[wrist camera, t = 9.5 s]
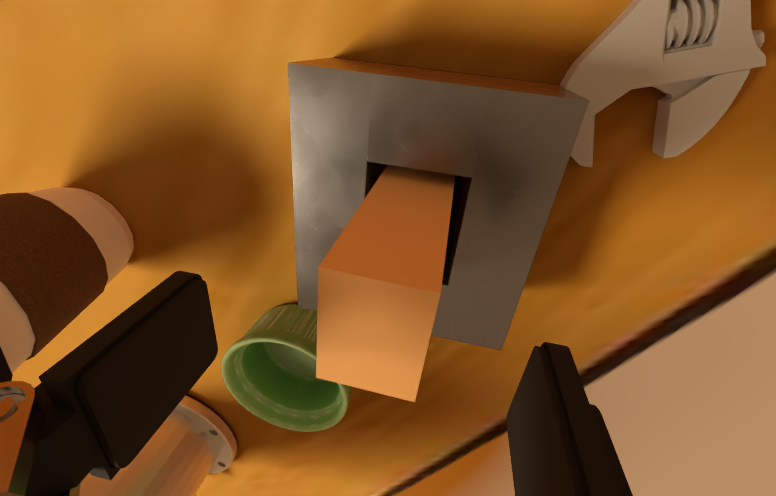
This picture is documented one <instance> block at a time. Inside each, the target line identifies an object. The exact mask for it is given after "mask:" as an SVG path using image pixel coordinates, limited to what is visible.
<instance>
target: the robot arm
mask: <svg viewBox="0 0 776 496" xmlns="http://www.w3.org/2000/svg"><path fill="white" fill-rule="evenodd" d="M217 352H218V346H217V340H216V335H215V329H214V323H213V318H212V312H211V306H210V301H209V295H208V289H207V284H206V282H205V281H203V280H202V277H201V276H200V275H198V274H194V273H189V272H184V271H177V272H175V273H173V274H172V275H171V276H170V277H168V278H167V279H166V280H164V281H163V282H162V283H160V284H159V285H158V286H156V287H155V288H154V289H153V290H151V291H150V292H149V293H147V294H146V295H145V296H143V297H142V298H141V299H140V300H138V301H137V302H136V303H134V304H133V305H132V306H130V307H129V308H128V309H126V310H125V311H124V312H123V313H121V314H120V315H119V316H117V317H116V318H115V319H113V320H112V321H111V322H109V323H108V324H107V325H106V326H104V327H103V328H102V329H100V330H99V331H98V332H96V333H95V334H94V335H92V336H91V337H90V338H89V339H87V340H86V341H85V342H83V343H82V344H81V345H79V346H78V347H77V348H76V349H74V350H73V351H72V352H70V353H69V354H68V355H66V356H65V357H64V358H62V359H61V360H60V361H59V362H57V363H56V364H55V365H53V366H52V367H51V368H49V369H48V370H47V371H45V372H44V373H43V374H42V375H40V376H39V379H40V381H41V382H42V383H40V384H39V385H38V386H37V387H35V388H33V387H32V385H31V384H29V383H26V382H24V381H8V382H2V383H0V496H196V492H197V490H198V489H199V487H200V485H201V484H202V482H203V480H204V479H205V477H206V475H207V474H214V473H218V472H222V471H224V470H226V469H227V468H228V467H229V466H230V465H231V463H232V462H233V460H234V458H235V456H236V454H237V444H236V440H235V437H234V435H233V433H232V431H231V430H230V429H229V427H228V426H227V424H226V423H225V422H224V421H223V420H222V419H221V418H220V417H219V416H218V415H216V414H215V413H214V412H213V411H212V410H210V409H209V408H208V407H206V406H205V405H203V404H202V403H200V402H198V401H196V400H194V399H193V398H191V397H189V396H186V394H187V393H188V392H189V390H190V389H191V388H192V387H193V386H194V384H195V383H196V382H197V381H198V379H199V378H200V377H201V376H202V374H203V373H204V372H205V371H206V369H207V368H208V367H209V366H210V364H211V363H212V362H213V361H214V359H215V357H216V355H217ZM507 430H508V438H509V446H510V455H511V464H512V472H513V479H514V489H515V496H633V495H632V493H631V490H630V487H629V485H628V483H627V480H626V477H625V474H624V472H623V469H622V466H621V464H620V461H619V459H618V456H617V454H616V451H615V448H614V446H613V443H612V440H611V438H610V435H609V433H608V430H607V428H606V425H605V423H604V420H603V417H602V415H601V413H600V411H599V409H598V408H597V407H596V406H595V405H591V404H589V402H588V399H587V396H586V393H585V391H584V388H583V385H582V382H581V379H580V377H579V374H578V371H577V368H576V365H575V363H574V360H573V357H572V354H571V351H570V349H569V348H568V347H567V346H563V345H558V344H553V343H547V342H544V343H543V344H542V345H541V347H539V346H535V347H534V349H533V351H532V353H531V356H530V358H529V361H528V363H527V366H526V368H525V371H524V373H523V376H522V378H521V381H520V383H519V386H518V388H517V391H516V393H515V396H514V398H513V401H512V403H511V406H510V408H509V411H508V415H507Z"/></svg>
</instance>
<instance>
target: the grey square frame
mask: <svg viewBox="0 0 776 496" xmlns="http://www.w3.org/2000/svg"><path fill="white" fill-rule="evenodd" d="M288 77H289V101H290V125H291V149H292V173H293V197H294V221H295V245H296V269H297V293H298V307H299V308H304V309H309V310H314V311H317V304H318V267H319V265H320V264H321V262H322V261H323V259H324V258H325V256H326V255H327V253H328V252H329V251H330V249H331V248H332V246H333V245H334V243H335V242H336V240H337V239H338V237H339V236H340V234H341V233H342V231H343V230H344V228H345V227H346V226H347V224H348V223H349V221H350V220H351V218H352V217H353V215H354V214H355V212H356V211H357V209H358V208H359V206H360V205H361V203H362V202H363V201H364V199H365V198H366V196H367V195H368V193H369V192H370V190H371V189H372V187H373V186H374V184H375V183H376V181H377V180H378V178H379V177H380V176H381V174H382V173H383V171H384V170H385V168H386V167H387V165H393V166H400V167H406V168H413V169H419V170H425V171H432V172H438V173H445V174H451V175H457V176H464V177H465V182H464V187H463V192H462V196H461V201H460V206H459V210H458V215H457V220H456V225H455V229H454V234H453V236H450V235H448V239H447V247H446V255H445V263H444V271H443V279H442V287H441V294H440V299H439V303H438V307H437V311H436V315H435V320H434V324H433V328H432V332H431V336H436V337H441V338H445V339H450V340H455V341H459V342H464V343H469V344H474V345H478V346H483V347H488V348H492V349H497V350H502V347H503V344H504V341H505V338H506V335H507V333H508V330H509V327H510V324H511V321H512V319H513V316H514V313H515V310H516V307H517V304H518V302H519V299H520V296H521V293H522V290H523V288H524V285H525V282H526V279H527V276H528V273H529V271H530V268H531V265H532V262H533V259H534V257H535V254H536V251H537V248H538V245H539V242H540V240H541V237H542V234H543V231H544V228H545V226H546V223H547V220H548V217H549V214H550V211H551V209H552V206H553V203H554V200H555V197H556V195H557V192H558V189H559V186H560V183H561V180H562V178H563V175H564V172H565V169H566V166H567V164H568V161H569V158H570V155H571V152H572V149H573V147H574V144H575V141H576V138H577V135H578V133H579V130H580V127H581V124H582V121H583V118H584V116H585V113H586V110H587V107H588V104H589V100H588V99H586V98H584V97H582V96H580V95H578V94H576V93H574V92H572V91H570V90H568V89H566V88H564V87H562V86H560V85H555V84H547V83H539V82H530V81H522V80H514V79H506V78H497V77H489V76H481V75H473V74H464V73H456V72H448V71H440V70H431V69H423V68H415V67H407V66H398V65H390V64H382V63H373V62H365V61H357V60H349V59H340V58H325V59H316V60H308V61H300V62H291V63H288Z"/></svg>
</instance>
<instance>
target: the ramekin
mask: <svg viewBox="0 0 776 496" xmlns="http://www.w3.org/2000/svg"><path fill="white" fill-rule="evenodd" d="M316 358H317V311H314V310H309V309H304V308H299V307H298V305H297V304H289V305H282V306H277V307H275V308H273V309H271V310H269V311H268V312H266V313H265V314H264V315H263V316H262V317H261V318H260V319H259V320H258V321H257V322H256V323H255V324H254V325H253V327H252V328H251V329H250V330H249V331H248V332H247V333H246V334H245V335H244V336H243V338H241V339H239V340H238V341H236V342H235V343H234V344H233V345H232V346H231V347H230V348H229V349H228V350H227V351H226V353H225V355H224V357H223V359H222V363H221V372H222V377H223V380H224V382H225V385H226V387H227V388H228V390H229V392H230V393H231V394H232V396H233V397H234V398H235V399H236V400H237V401H238V402H239V403H240V404H241V405H242V406H243V407H244V408H245V409H247V410H248V411H249V412H251V413H252V414H254V415H255V416H257V417H259V418H260V419H262V420H264V421H266V422H268V423H270V424H273V425H275V426H278V427H281V428H285V429H288V430H293V431H301V432H315V431H321V430H325V429H328V428H330V427H332V426H334V425H336V424H337V423H338V422H339V421H340V420H341V419H342V418H343V417H344V415H345V413H346V411H347V408H348V403H349V389H350V386H348V385H344V384H340V383H336V382H332V381H328V380H324V379H320V378H316Z"/></svg>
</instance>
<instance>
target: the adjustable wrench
mask: <svg viewBox="0 0 776 496" xmlns="http://www.w3.org/2000/svg"><path fill="white" fill-rule="evenodd" d="M763 43H764V32H763V31H762V30H760V29H758V30H753V31H752V28H751V0H672V1H671V0H632V1H631V2H630V4H629V5H628V6H627V7H626V8H625V9H624V10H623V11H622V13H621V14H620V15H619V16H618V17H617V18H616V19H615V20H614V21H613V22H612V23H611V24H610V25H609V26H608V28H607V29H606V30H605V31H604V32H603V33H602V34H601V35H600V36H599V37H598V38H597V39H596V40H595V41H594V42H593V43H592V44H591V45H590V46H589V47H588V48H587V49H586V50H585V51H584V52H583V53H582V54H581V55H580V56H579V57H578V58H577V59H576V60H575V61H574V62H573V64H572V65H571V66H570V68H569V69H568V71H567V72H566V74H565V76H564V78H563V79H562V81H561V83H560V86H562V87H564V88H566V89H568V90H570V91H572V92H574V93H576V94H578V95H580V96H582V97H584V98H586V99H588V100H589V104H588V107H587V110H586V113H585V116H584V118H583V121H582V124H581V127H580V130H579V133H578V135H577V138H576V141H575V144H574V147H573V149H572V152H571V155H570V156H571V157H572V158H573V159H574V160H575V161H576V162H577V163H578V164H579V165H580V166H583V167H593V145H594V123H595V114H597V113H598V112H600V111H601V110H603V109H604V108H605V107H607V106H608V105H610V104H611V103H613V102H614V101H615V100H617V99H618V98H620V97H621V96H623V95H624V94H625V93H627V92H628V91H630V90H631V89H637V88H644V87H654V88H656V89H658V90H659V91H661V92H663V93H665V96H664V97H662V98H660V99H659V100H658V104H657V112H656V120H655V129H654V137H653V145H652V152H654V153H656V154H657V155H659V156H661V157H662V158H671V157H677V156H678V155H680V154H681V153H683V152H684V151H686V150H687V149H689V148H690V147H691V146H693V145H694V144H695V143H696V142H697V141H699V140H700V139H701V138H702V137H703V136H704V135H705V134H706V133H707V132H708V131H709V130H711V129H712V128H713V127H714V126H715V124H716V123H717V122H718V121H719V120H720V119H721V117H722V116H723V115H724V114H725V112H726V111H727V109H728V108H729V106H730V105H731V103H732V102H733V101H734V99H735V97H736V96H737V94H738V92H739V91H740V89H741V87H742V86H743V84H744V82H745V80H746V78H747V76H748V74H749V72H750V69H751V68H756V67H762V66H766V55H765V54H764V53H763V52H762V51H761V50H760V49H761V47H762V45H763Z"/></svg>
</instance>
